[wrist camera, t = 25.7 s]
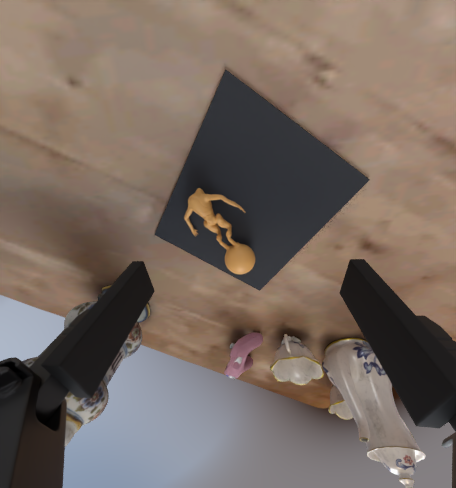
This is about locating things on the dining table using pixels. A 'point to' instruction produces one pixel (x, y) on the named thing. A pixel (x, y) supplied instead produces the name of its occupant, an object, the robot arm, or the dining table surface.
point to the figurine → (237, 255)
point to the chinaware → (356, 397)
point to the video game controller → (242, 354)
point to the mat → (257, 183)
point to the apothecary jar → (90, 409)
